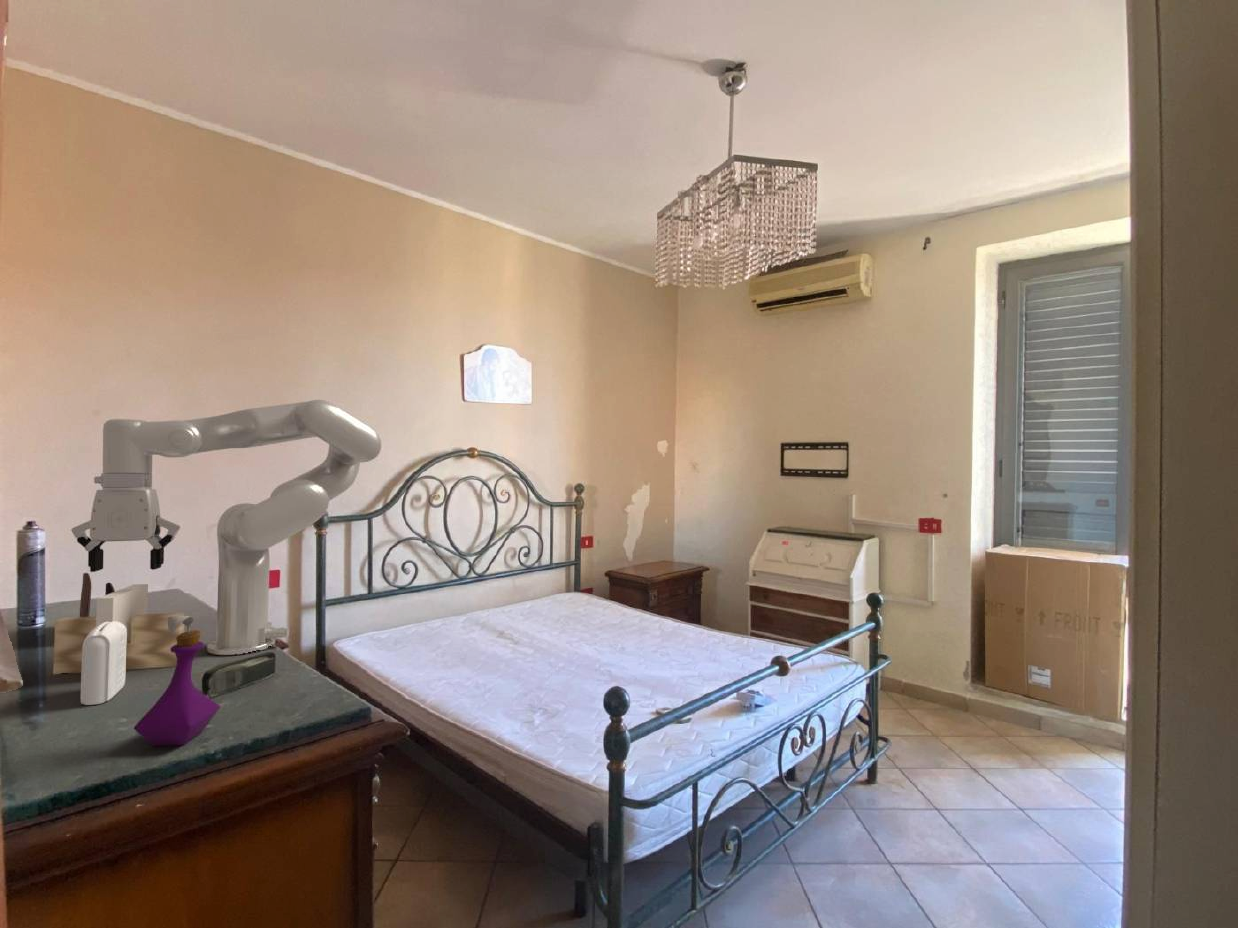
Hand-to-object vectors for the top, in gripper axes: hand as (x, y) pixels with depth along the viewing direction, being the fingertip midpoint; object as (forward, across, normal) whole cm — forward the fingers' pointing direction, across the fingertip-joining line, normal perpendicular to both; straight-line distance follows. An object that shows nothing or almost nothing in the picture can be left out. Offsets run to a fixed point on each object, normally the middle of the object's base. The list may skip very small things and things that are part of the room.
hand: (126, 569), depth 116 cm
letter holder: (+20, -16, +31) cm, 40 cm away
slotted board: (+19, -1, 0) cm, 19 cm away
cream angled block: (+19, -1, 0) cm, 19 cm away
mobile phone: (+20, +24, -17) cm, 35 cm away
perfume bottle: (+19, +22, -38) cm, 48 cm away
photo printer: (+19, +4, -16) cm, 25 cm away
